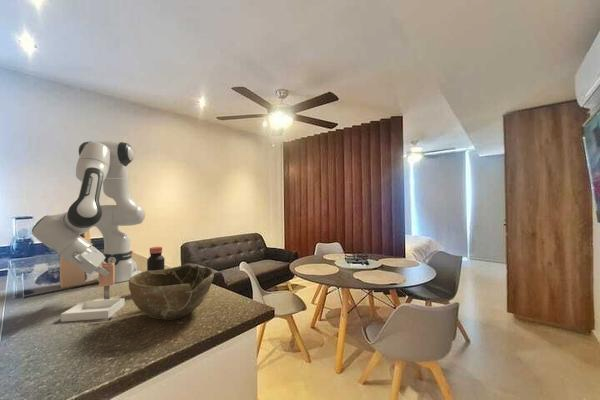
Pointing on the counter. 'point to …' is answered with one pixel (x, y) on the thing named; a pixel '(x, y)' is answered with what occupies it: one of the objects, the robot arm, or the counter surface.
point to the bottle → (155, 259)
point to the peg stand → (106, 294)
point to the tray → (93, 310)
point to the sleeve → (110, 277)
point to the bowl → (170, 290)
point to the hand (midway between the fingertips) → (108, 272)
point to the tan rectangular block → (70, 274)
